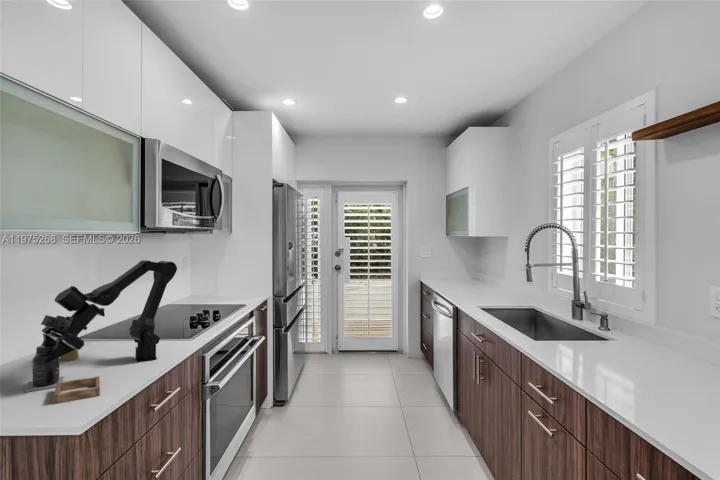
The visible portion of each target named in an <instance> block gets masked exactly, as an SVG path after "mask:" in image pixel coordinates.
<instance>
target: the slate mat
mask: <svg viewBox="0 0 720 480" xmlns="http://www.w3.org/2000/svg"><path fill="white" fill-rule="evenodd" d="M64 378H65V376H60V379H59V381H58V382H57V383H59V382H64ZM57 383H54V384H51V385H47V386H39V387H37V386H33V381H32V380H30V381H28V382H27V385H26V387H25V389H24V393H32V392H37V391H38V392H39V391H44V390H49V389H51V390H52V389H56V385H57Z"/></svg>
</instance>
